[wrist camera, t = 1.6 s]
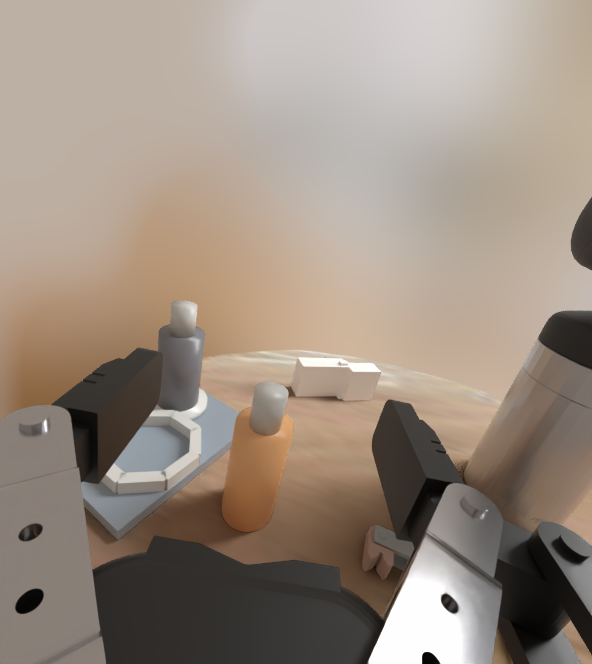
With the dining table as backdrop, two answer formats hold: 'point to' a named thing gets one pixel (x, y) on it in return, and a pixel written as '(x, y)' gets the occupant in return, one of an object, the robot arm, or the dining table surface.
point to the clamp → (385, 551)
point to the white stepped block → (334, 379)
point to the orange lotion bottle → (257, 459)
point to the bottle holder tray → (165, 434)
